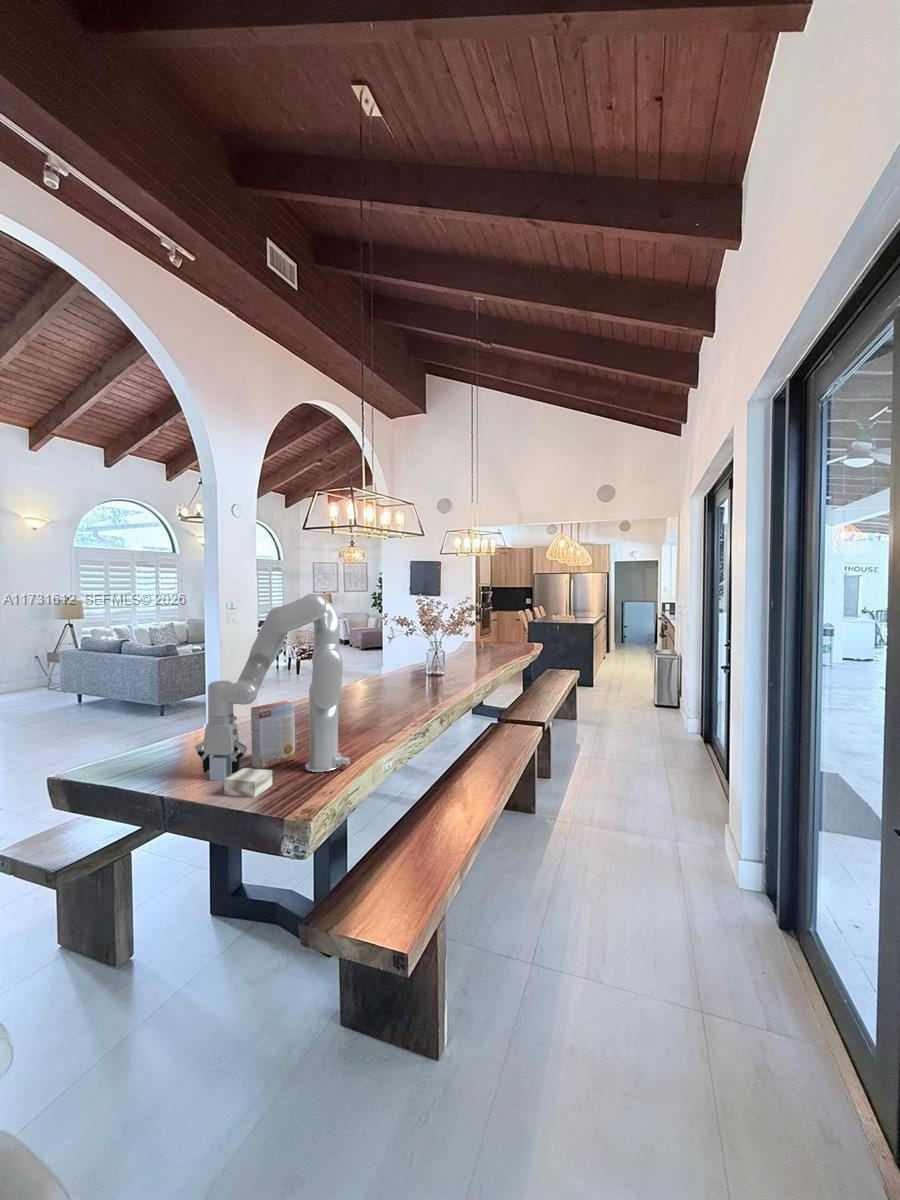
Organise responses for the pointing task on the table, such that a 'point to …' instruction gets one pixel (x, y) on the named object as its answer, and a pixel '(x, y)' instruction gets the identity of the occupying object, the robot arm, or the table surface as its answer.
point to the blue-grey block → (220, 767)
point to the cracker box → (272, 734)
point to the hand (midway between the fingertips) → (221, 771)
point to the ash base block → (248, 782)
